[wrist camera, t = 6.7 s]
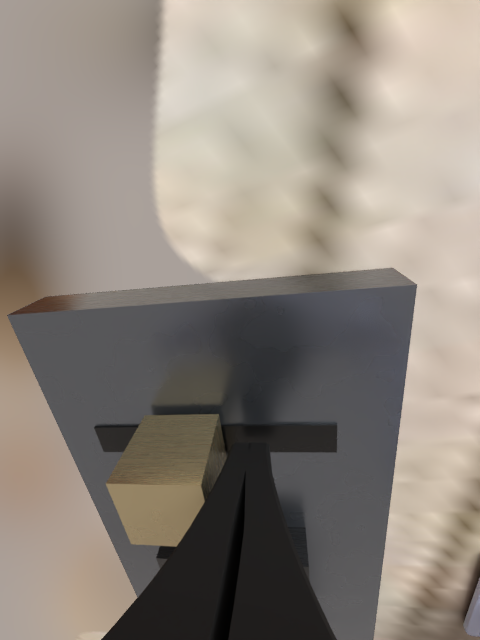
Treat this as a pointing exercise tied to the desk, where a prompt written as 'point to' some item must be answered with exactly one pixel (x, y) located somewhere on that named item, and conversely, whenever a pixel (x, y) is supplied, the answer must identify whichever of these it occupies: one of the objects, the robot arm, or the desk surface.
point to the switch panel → (246, 403)
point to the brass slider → (166, 476)
